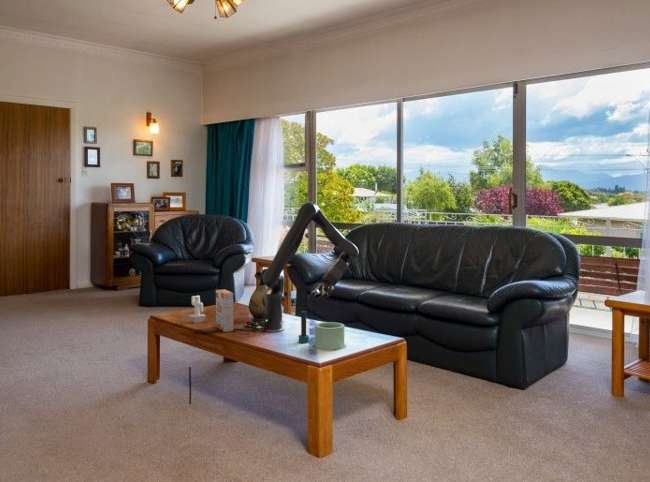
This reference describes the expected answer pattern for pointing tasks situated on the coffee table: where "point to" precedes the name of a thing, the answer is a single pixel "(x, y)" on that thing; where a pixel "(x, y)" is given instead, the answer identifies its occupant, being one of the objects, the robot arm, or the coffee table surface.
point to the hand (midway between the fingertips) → (313, 301)
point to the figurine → (197, 310)
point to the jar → (329, 335)
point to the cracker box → (224, 310)
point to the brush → (303, 329)
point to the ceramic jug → (258, 298)
